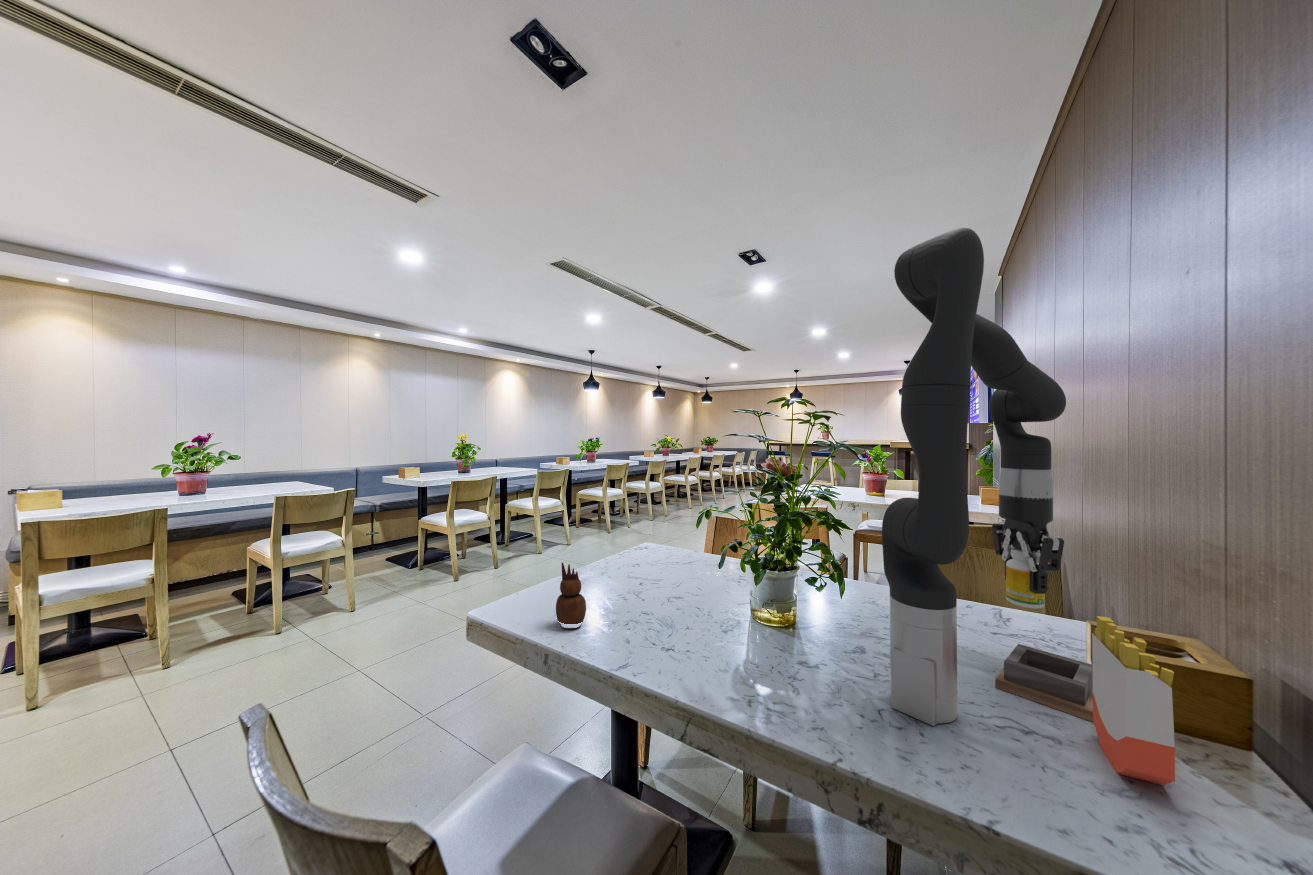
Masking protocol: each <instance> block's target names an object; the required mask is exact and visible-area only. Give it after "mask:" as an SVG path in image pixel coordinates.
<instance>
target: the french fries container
mask: <svg viewBox="0 0 1313 875" xmlns="http://www.w3.org/2000/svg"><path fill="white" fill-rule="evenodd" d="M1117 628H1118V626H1117V625H1116V624H1115V622H1114V621H1113V619H1112V618H1110V617H1107V616H1098V615H1096V628H1094V632H1092V633H1091V634H1092V637H1091V638H1092V639H1091V640H1092V642H1091V643H1092V644H1091V645H1092V649H1091V650H1092V652H1091V654H1092V665H1093V720H1094V721H1093V723H1094V728H1095V732H1096V735H1097V738H1098V743H1099V746H1100V749H1101V750H1102V751H1103V753H1104V755H1105V756H1106V758H1107V760H1108V761H1109V763H1110V764H1111V766H1112V767H1113V769H1114V770H1115V772H1116V774H1119V775H1123V776H1126V777H1130V778H1133V779H1137V780H1142V781H1144V780H1145V781H1146V782H1148V781H1149V783H1152V782H1154V783H1153V784H1156V783H1158V784H1157V785H1160V784H1162V785H1161V786H1165V785H1168V784H1170V783H1173V782H1175V781H1176V754H1175V753H1176V752H1175V751H1176V747H1175V725H1174V708H1173V707H1174V706H1173V705H1174V703H1173V688H1172V684H1173V679H1174V675H1175V672H1174V670H1171V669H1168V668H1165V667H1162V666H1161V668H1160V665H1158V664H1156V659H1157V658H1156V657H1155V655H1152V654H1150V653H1149V654H1148V653H1146V651H1147V650H1146V648H1147V645H1148V643H1147V642H1146V641H1145V640H1144V638H1139V637H1136V636H1134V637H1132V641H1130V640H1129V639H1128V638H1125V632H1124V631H1122V630H1119V629H1117Z"/></svg>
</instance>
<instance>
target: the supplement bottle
mask: <svg viewBox="0 0 1313 875" xmlns="http://www.w3.org/2000/svg"><path fill="white" fill-rule="evenodd" d="M1032 553H1040V551H1038V552H1032ZM1011 557H1013V559H1010V560H1008V561H1007V563H1006V580H1005V590H1006V591H1005V598H1006V600H1007V601H1008V602H1009V603H1011V604H1013V605H1016V606H1018V607H1023V608H1029V609H1042V608H1044V607H1045V604H1046V602H1045V600H1046V599H1045V598H1046V597H1045V596H1046V593H1045V594H1035V593H1033V592H1031V591H1030V571H1031V569H1030V565H1029V562H1028V559H1027V558H1025V557H1024V555H1023V551H1022V550H1021V549H1020V548H1012V549H1011ZM1036 562H1037V565H1038V564H1039V559H1038V558H1036Z"/></svg>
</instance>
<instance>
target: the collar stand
mask: <svg viewBox="0 0 1313 875" xmlns="http://www.w3.org/2000/svg"><path fill="white" fill-rule="evenodd" d="M994 681H995V682H994V683H995V684H994V686H995V688H996V689H999V690H1001V691H1004V692H1007V693H1009V694H1012V693H1013V695H1015V694H1016V695H1015V696H1018V695H1019V696H1018V697H1021V696H1022V698H1024V699H1027V698H1028V699H1027V700H1029V699H1030V701H1032V700H1033V701H1032V702H1036V703H1037V704H1038V703H1039V704H1041V705H1043V706H1048V707H1050V708H1052V709H1055V710H1058V711H1061V712H1064V713H1066V714H1069V715H1071V716H1075V717H1078V718H1080V719H1083V720H1085V721H1089V722H1091V723H1094V720H1093V663H1092V664H1091V663H1087V662H1084V661H1080V660H1078V659H1077V660H1076V659H1073V658H1070V657H1067V656H1062V655H1059V654H1055V653H1052V652H1048V651H1045V650H1042V649H1038V648H1035V647H1031V646H1028V645H1025V644H1021V643H1018V644H1017V645H1016V646H1015V647H1014V649H1013V650H1011V652H1010V654H1008V656H1007V657H1006V659H1004V661H1003V668H1002V669H1001V671H999V673H998V675H997V676H996V677H995V679H994Z"/></svg>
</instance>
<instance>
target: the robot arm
mask: <svg viewBox="0 0 1313 875" xmlns="http://www.w3.org/2000/svg"><path fill="white" fill-rule="evenodd" d="M984 267H985V253H984V247H983V244H982V241H981V238H980V236H979V235H978V233H976V231H975V230H973V229H972V228H969V227H957V228H953V229H951V230H948V231H946V232H944V233H941V234H938V235H937V236H935V237H932V238H930V239H928V240H925V241H923V242H920V243H919V244H917V245H914V246H912V247H910V248H908V249H907V250H905V251H904V252H902V253H901V254H900V255H899V256H898V257H897V260H896V263H895V264H894V271H893V273H894V280H895V283H896V286H897V288H898V290H899V291H900V293H901V294H902V296H903V297H904V298H905V299H906V300H907V302H909V303H910V304H911V305H912V306H913V307H914V308H915V309H916V310H917V311H919V313H921V315H922V316H923V317H925V319H927V320H928V321H929V322H930V323H931V325H930V327H929V330H928V331H927V334H926V335H925V336H924V338H923V340H922V341H921V343H920V345H919V346H918V348H917V350H916V352H915V353H914V355H913V356H912V358H911V360H910V361H909V363H908V365H907V368H906V369H905V371H904V374H903V377H902V384H901V397H900V402H901V403H900V419H901V424H902V427H903V431H904V433H905V436H906V438H907V441H908V443H909V445H910V447H911V449H912V452H913V455H914V457H915V460H916V463H917V467H918V468H917V469H918V494H917V495H918V498H917V497H901V498H899V499H896V500H894V501H892V502H891V504H889V505H888V506H887V508H886V510H885V512H884V513H883V514H884V515H883V517H882V524H881V543H882V544H881V545H882V556H883V557H882V559H883V560H882V561H883V571H884V576H885V579H886V580H887V582H888V586H889V636H890V639H889V642H890V643H889V644H890V645H889V646H890V648H889V649H890V650H889V651H890V652H889V654H890V657H889V659H890V661H889V662H890V663H889V664H890V699H891V702H890V704H891V706H890V707H891V708H892V709H894V710H896V711H898V712H901V713H903V714H905V715H907V716H911V717H913V718H914V719H917V720H919V721H921V722H924V723H925V724H928V725H930V726H933V727H935V726H936V725H938V724H947V723H952V722H954V721H955V720H956V719H958V714H959V708H958V706H959V704H958V703H959V702H958V700H959V699H958V698H959V697H958V696H959V695H958V693H959V692H958V691H959V690H958V631H957V629H958V626H957V624H958V623H957V622H958V620H957V619H958V616H957V615H958V614H957V609H958V608H957V606H958V605H957V600H958V599H957V597H958V595H957V590H956V587H955V585H954V584H953V582H951V581H950V580H949V579H948V577H946V575H945V574H944V573H943V571H942V570H941V568H940V566H939V565H942V566H943V565H949V564H951V563H954V562H956V561H957V560H958V559H960V557H961V556H962V555H963V554H964V552H965V550H966V547H967V545H968V540H969V535H970V517H969V516H970V514H969V501H968V500H969V497H968V483H967V451H968V449H967V447H968V446H967V445H968V424H969V415H970V414H969V413H970V400H971V388H972V387H971V384H972V383H971V381H972V380H971V378H972V374H971V372H972V369H973V370H974V372H975V374H976V375H977V376H978V378H979V379H980V381H982V383H983V384H984V385H985V386H986V387H987V388H990V389H991V390H994V391H993V393H992V394H991V395H990V399H989V403H988V407H989V408H988V409H989V413H990V417H991V420H992V422H993V425H994V427H995V431H996V435H997V439H998V442H999V444H1000V445H999V446H1000V471H999V472H1000V473H999V478H998V516H999V517H1000V518H1001V519H1004V522H1003V523H997V522H996V523H992V525H991V530H992V535H993V536H992V537H993V538H992V539H993V542H994V543H993V545H994V551H995V552H994V553H995V555H997V556H1000V557H1001V559H1002V561H1004V581H1006V563H1007V561H1008V560H1010V559H1013V557H1011V549H1012V548H1020V549H1021V550H1022V551H1023V555H1024V557H1025V558H1027V559H1028V562H1029V565H1030V569H1031V571H1030V591H1031V592H1033V593H1035V594H1045V595H1046V593H1047V590H1048V574H1049V573H1051V572H1052V573H1057V572H1060V567H1061V564H1062V563H1061V562H1062V558H1063V557H1062V556H1063V552H1064V547H1065V546H1064V545H1065V540H1064V539H1063V538H1062V537H1054V536H1051V535H1050V534H1049V531H1048V527H1047V525H1048V524H1049V523H1051V522H1053V520H1054V480H1053V475H1052V474H1053V473H1052V442H1051V440H1050V439H1049V438H1047V437H1044V436H1040V435H1035V434H1031V433H1028V432H1027V431H1026V430H1025V429H1024V427H1023V424H1022V423H1043V422H1044V423H1046V422H1050V421H1054V420H1056V419H1058V418H1059V417H1060V416H1061V415H1062V414H1063V413H1064V412H1065V409H1066V407H1067V397H1066V394H1065V392H1064V390H1063V388H1062V387H1061V386H1060V384H1059V383H1057V381H1056V380H1055V379H1053V378H1052V377H1051V376H1049V375H1048V374H1047V373H1045V372H1044V371H1043V370H1042V369H1040V368H1039V367H1038V366H1036V365H1035V364H1033V363H1032V362H1030V360H1028V359H1027V357H1026V356H1025V354H1024V352H1023V351H1022V349H1021V348H1020V347H1019V344H1018V343H1017V342H1016V340H1015V338H1013V337H1012V335H1011V333H1009V332H1008V331H1007V330H1005V328H1003V327H1002V326H1000V325H999V324H997V323H995V322H994V321H991V320H990V319H988V318H986V317H984V316H982V315H980V314H978V313H977V311H978V306H979V301H980V294H981V289H982V283H983V276H984ZM1032 552H1040V553H1032ZM1036 558H1038V559H1039V561H1038V563H1039V564H1038V565H1037V562H1036ZM1050 560H1051V561H1050ZM1049 561H1050V563H1049Z"/></svg>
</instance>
